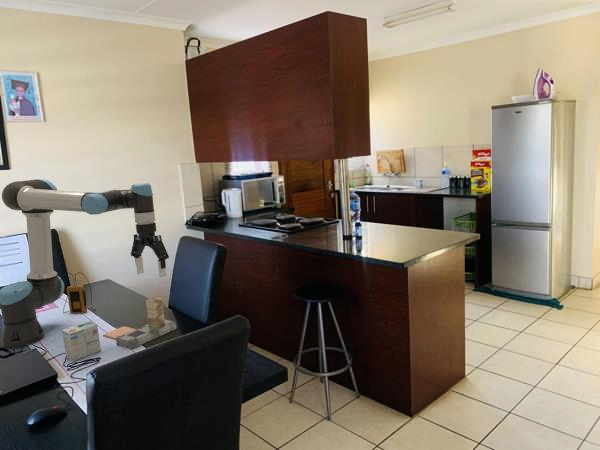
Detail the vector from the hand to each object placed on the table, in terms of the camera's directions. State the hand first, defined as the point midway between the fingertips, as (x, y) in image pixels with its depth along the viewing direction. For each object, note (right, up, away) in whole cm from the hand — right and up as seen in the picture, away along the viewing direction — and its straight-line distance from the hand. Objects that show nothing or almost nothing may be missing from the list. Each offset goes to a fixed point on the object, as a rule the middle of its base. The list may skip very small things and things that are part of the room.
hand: (151, 274), depth 183 cm
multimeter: (-46, -21, +38) cm, 63 cm away
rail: (-1, -25, 0) cm, 25 cm away
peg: (+1, -24, +4) cm, 24 cm away
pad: (-14, -25, +4) cm, 29 cm away
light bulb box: (-21, -28, -14) cm, 38 cm away
